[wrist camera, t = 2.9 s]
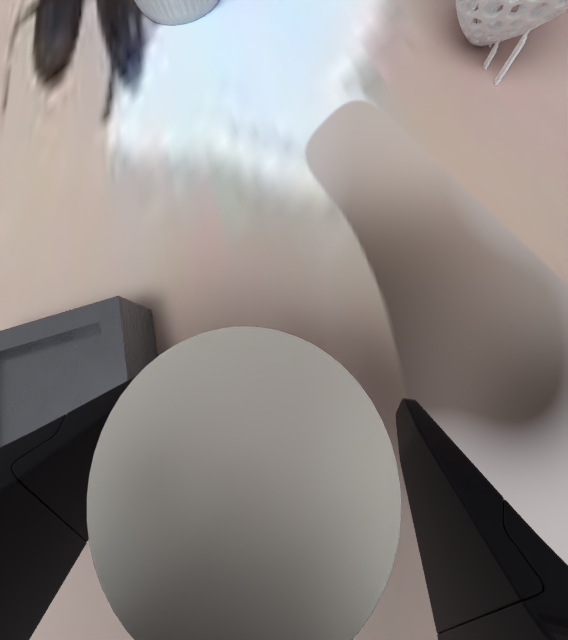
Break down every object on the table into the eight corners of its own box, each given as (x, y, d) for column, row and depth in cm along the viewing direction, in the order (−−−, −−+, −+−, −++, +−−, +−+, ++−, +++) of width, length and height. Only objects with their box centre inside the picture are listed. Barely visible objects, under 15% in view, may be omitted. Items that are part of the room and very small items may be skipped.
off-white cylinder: (344, 403, 16) (474, 492, 4) (288, 462, 15) (221, 798, 3) (289, 348, 17) (246, 273, 5) (236, 401, 16) (32, 471, 4)
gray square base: (174, 469, 16) (140, 492, 12) (13, 514, 16) (-61, 548, 13) (151, 310, 18) (118, 295, 15) (13, 350, 19) (-48, 345, 15)
